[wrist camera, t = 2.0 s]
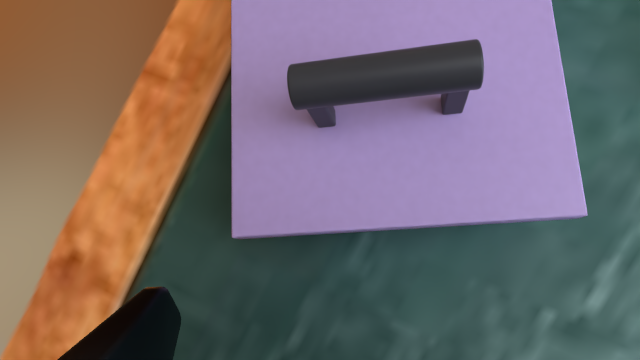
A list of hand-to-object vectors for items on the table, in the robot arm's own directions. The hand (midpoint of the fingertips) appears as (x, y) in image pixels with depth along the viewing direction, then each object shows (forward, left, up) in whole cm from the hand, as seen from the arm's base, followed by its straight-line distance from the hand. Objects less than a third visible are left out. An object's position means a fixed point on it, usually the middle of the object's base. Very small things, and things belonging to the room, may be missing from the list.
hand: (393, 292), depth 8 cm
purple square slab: (+9, +3, -8) cm, 12 cm away
